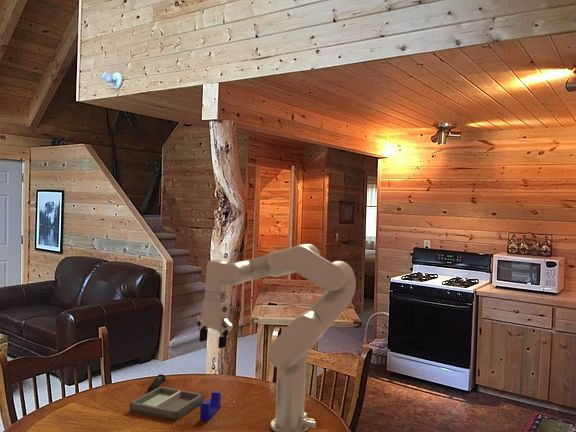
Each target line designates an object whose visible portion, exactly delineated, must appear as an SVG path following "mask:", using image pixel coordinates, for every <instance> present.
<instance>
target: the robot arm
mask: <svg viewBox="0 0 576 432" xmlns="http://www.w3.org/2000/svg"><path fill="white" fill-rule="evenodd" d="M352 268H353V267H352V266H351V265H349V264H348V263H347V262H345V261H343V260H335V261H332V262H331V261H330V260H328V259H326V258H324V257H322V256H321V253H320V251H319V249H318V248H317V246H315V245H314V244H312V243H303V244H298V245H294V246H291V247H287V248H282V249H279V250H275V251H270V252H268V253H267V254H265V255H261V256H257V257H254V258H249V259H243V260H240V261H236V262H229V263H228V261H227V260H226V261H225V260H221V259H211V260H208V262H207V264H206V274H205V275H206V276H205V290H204V298H203V301H202V306H201V313H200V314H197V315H196V320H197V322H196V323H197V327H198V330H199V342H200V343H201V342H206V341H208V335H209V334H208V329H207V328H209V329H212V330H215V331H217V332H218V334H219V336H218V346H217V347H218V349H223V348H226V347H227V338H228V337H229V334H230V333H231V332H232V330H233V328H234V326H233V324H232V323H231V322H230V309H229V302H228V301H229V300H227V299H228V285H231V286H238V285H240V284H243V283H246V282H250V281H254V280H258V279H262V278H263V279H264V278H269V277H273V278H277V277H281V276H283V277H284V276H286V275H290V274H295V273H297V275H300V276H301V277H303V278H305V279H306V280H307V281H309V282H311V283H313V284H314V285H316V286H317V287H320V288H321V289H323V290H326V291H325V292H323V294H322V295H321V296H319V298H318V299H317V301H316V302H314V304H312V305H311V307H310V308H309V309H307V310H306V311H304V312H303V313H301V314H299V315H298V316H297V317H295V318H294V319H293V320H292V321H291V322H290V323H289V324H288V325H287V327H286V328H285V329H284V330H283V331H282V332H281V333H280V334H279V335H278V336H277V337H276V338H275V339H274V341H273V342H272V343H271V344H270V346H269V349H268V358H269V361H270V363H271V364H272V365H273V366H274V367H275V368H276V390H275V392H276V393H275V395H276V396H275V417H274V419H272V420H271V421H270V428H271V430H273V432H307V431H308V429H309V428H313V429H315V428H316V427H317V426H316V425H317V422H316V421H315V419H314V418H310V417H309V418H308V413H307V412H305V401H306V400H305V399H306V398H305V397H306V396H305V395H306V393H305V392H306V371H307V361H308V351H309V349H311V348H312V347H313V345H315V343H316V342H318V341H319V340H320V339H321V338H322V337H323V335H325V333H326V331H327V330H328V328H330V327H331V326H332V324H333V323H335V321H336V320H337V319H338V318H339V317H340V316H341V314H342V313H344V312H345V310H346V309H347V307H349V305H350V304H351V301H352V300H353V298H354V296H355V293H356V292H355V291H356V289H357V288H356V285H357V281H356V276H355V272H354V270H353V269H352Z"/></svg>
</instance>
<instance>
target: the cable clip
mask: <svg viewBox="0 0 576 432" xmlns="http://www.w3.org/2000/svg"><path fill="white" fill-rule="evenodd" d="M221 402H222V391H216V390H213V391H212V392H211V395H210V398H208V399H207V400H206V401H203V402H201V404H200V410H199V411H200V414H199V418H200V419H199V421H201V422H210V420H212V418H213V417H214V416H215V415H216V413H218V411H219V410H221Z"/></svg>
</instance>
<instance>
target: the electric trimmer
mask: <svg viewBox="0 0 576 432" xmlns="http://www.w3.org/2000/svg"><path fill="white" fill-rule="evenodd" d="M166 380H167V378H166V376H165V374H163V373H162V374H161V373H160V374H159V373H158V375H157V376H156V377H155V378H154V379H153V381H152V383H151V384H150V385H149V386H148V388H147V391H148V392H151V391H153V390H155V389H157V388H158V387H160V386H161V383H163V382H165V381H166Z"/></svg>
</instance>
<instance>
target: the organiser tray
mask: <svg viewBox="0 0 576 432" xmlns="http://www.w3.org/2000/svg"><path fill="white" fill-rule="evenodd" d="M204 394H205V393H204ZM204 394H202V393H198V392H194V391H187V390H181V389H177V388H171V387H167V386H162V385H160V387H158V388H157V389H155V390H153V391H148V392H147V393H146V394H143V395H142V396H139V397H138V398H136V399H134V400H132V401H130V402H129V412H131V413H136V414H142V415H146V416H149V417H150V416H151V417H153V418H154V417H155V418H159V419H163V420H164V419H165V420H170V421H173V422H176V421H178V420H179V419H181V418H182V417H184V416H185V415H187V414H188V413H190V412H192V411H193V410H194V409H196V408H198V407H199V406H201V402H204Z"/></svg>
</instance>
